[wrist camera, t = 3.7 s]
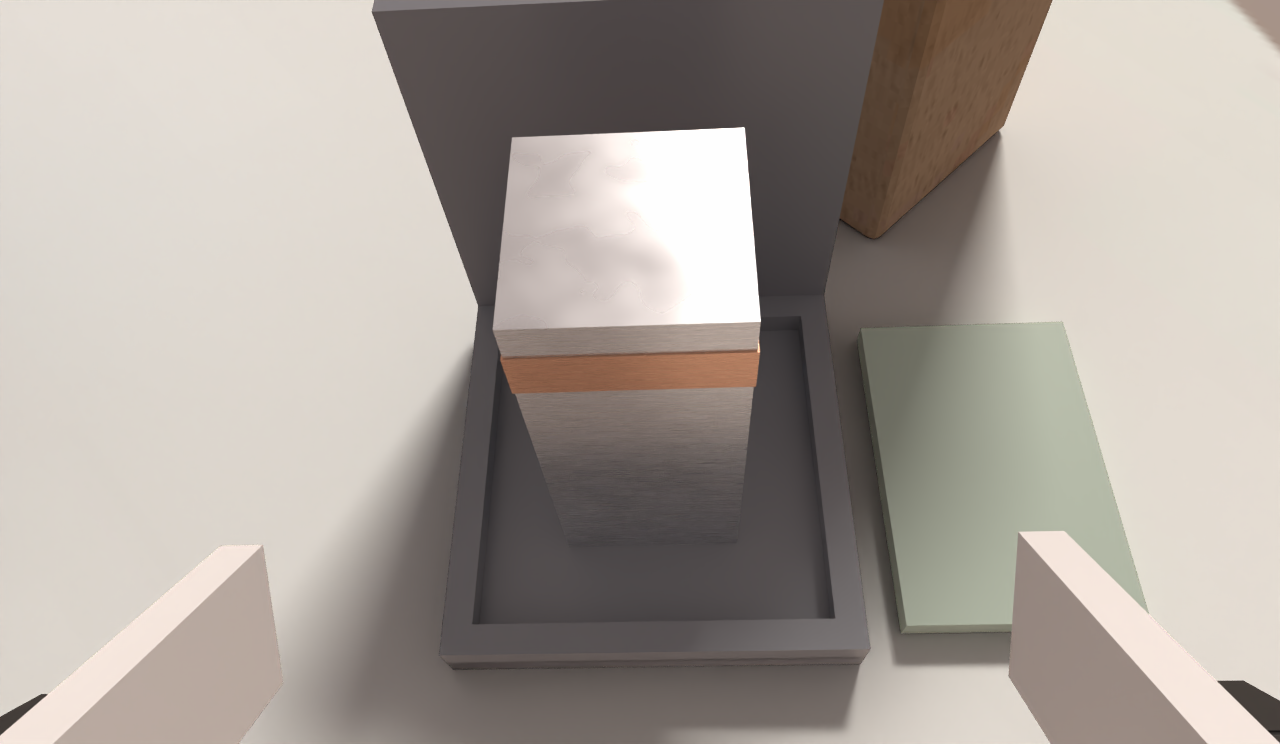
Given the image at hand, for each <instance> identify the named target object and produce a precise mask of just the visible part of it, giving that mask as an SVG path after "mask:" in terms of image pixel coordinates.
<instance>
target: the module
mask: <svg viewBox="0 0 1280 744" xmlns="http://www.w3.org/2000/svg"><path fill="white" fill-rule="evenodd" d="M760 324H761V319H760V307H759V296H758V284H757V272H756V260H755V249H754V237H753V225H752V213H751V202H750V190H749V178H748V166H747V155H746V143H745V131H744V128H728V129H704V130H680V131H656V132H632V133H608V134H584V135H560V136H536V137H512V142H511V152H510V162H509V172H508V182H507V192H506V202H505V212H504V222H503V232H502V242H501V252H500V262H499V272H498V281H497V291H496V301H495V311H494V321H493V333H494V336H495V338H496V341H497V344H498V347H499V350H500V353H501V358H500V361H501V364H502V366H503V369H504V372H505V375H506V378H507V380H508V383H509V386H510V389H511V392H512V394H515V395H516V398H517V401H518V404H519V406H520V409H521V412H522V415H523V418H524V421H525V423H526V426H527V429H528V432H529V435H530V438H531V441H532V443H533V446H534V449H535V452H536V455H537V458H538V460H539V463H540V466H541V469H542V472H543V475H544V477H545V480H546V483H547V486H548V489H549V492H550V494H551V497H552V500H553V503H554V506H555V509H556V511H557V514H558V517H559V520H560V523H561V526H562V528H563V531H564V534H565V537H566V540H567V543H568V546H569V547H586V546H635V545H685V544H734V543H737V538H738V529H739V520H740V510H741V501H742V492H743V482H744V473H745V464H746V454H747V445H748V436H749V426H750V417H751V408H752V398H753V389H754V387H756V383H757V374H758V365H759V356H760V347H759V333H760Z"/></svg>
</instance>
